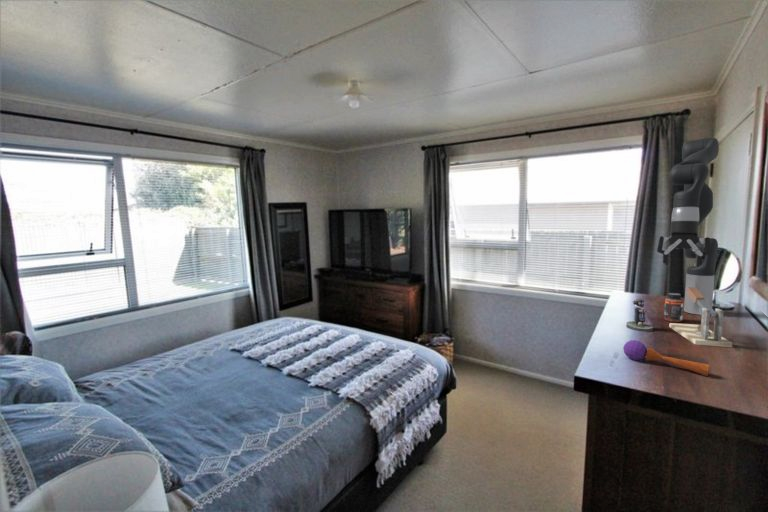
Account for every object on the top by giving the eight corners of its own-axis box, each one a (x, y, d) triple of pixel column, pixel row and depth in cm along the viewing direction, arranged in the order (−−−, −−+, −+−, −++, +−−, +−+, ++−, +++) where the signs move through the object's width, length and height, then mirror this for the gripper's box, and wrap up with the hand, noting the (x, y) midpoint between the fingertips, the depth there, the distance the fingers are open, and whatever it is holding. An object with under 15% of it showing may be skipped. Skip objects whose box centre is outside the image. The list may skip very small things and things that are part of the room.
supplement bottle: (686, 322, 144) (688, 295, 143) (671, 322, 144) (673, 295, 143) (674, 318, 150) (676, 292, 149) (660, 318, 150) (661, 292, 149)
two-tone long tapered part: (708, 366, 95) (621, 342, 109) (705, 385, 97) (620, 359, 111) (711, 356, 99) (627, 334, 113) (708, 374, 100) (625, 351, 115)
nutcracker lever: (715, 324, 120) (719, 313, 118) (706, 323, 121) (709, 313, 119) (693, 297, 134) (696, 287, 132) (685, 297, 135) (687, 287, 133)
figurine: (621, 326, 141) (623, 297, 139) (634, 323, 144) (635, 294, 143) (645, 332, 133) (646, 301, 132) (657, 329, 137) (659, 298, 136)
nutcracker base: (669, 326, 139) (671, 296, 138) (700, 328, 136) (702, 298, 135) (695, 344, 120) (697, 310, 119) (732, 347, 117) (735, 311, 116)
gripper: (709, 221, 125) (705, 267, 126) (658, 221, 133) (655, 264, 133) (714, 219, 119) (710, 267, 119) (660, 219, 127) (657, 264, 127)
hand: (681, 266), depth 126 cm, fingers open, 8 cm apart
